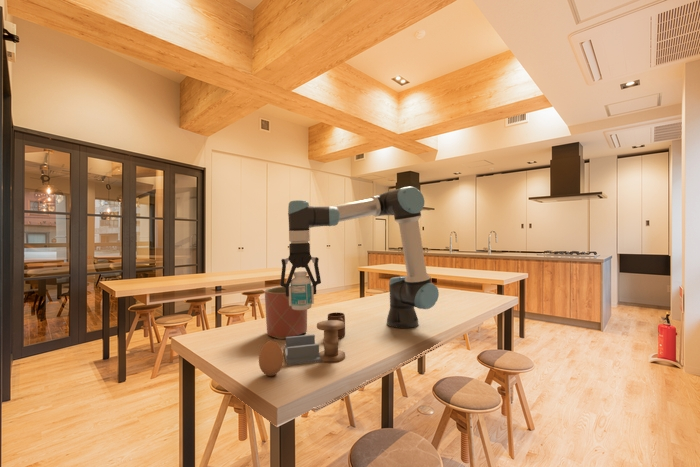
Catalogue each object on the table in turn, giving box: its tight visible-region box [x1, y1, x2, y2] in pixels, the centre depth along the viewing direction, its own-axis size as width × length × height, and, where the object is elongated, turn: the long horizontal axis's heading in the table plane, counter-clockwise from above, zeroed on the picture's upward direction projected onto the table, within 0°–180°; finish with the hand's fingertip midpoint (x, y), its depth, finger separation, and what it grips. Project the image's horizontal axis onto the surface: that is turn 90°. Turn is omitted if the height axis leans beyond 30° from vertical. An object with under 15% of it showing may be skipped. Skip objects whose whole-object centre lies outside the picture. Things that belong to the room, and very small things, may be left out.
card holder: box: [284, 333, 323, 367], centre depth 118 cm, size 12×18×5 cm, turn 14°
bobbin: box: [316, 319, 346, 364], centre depth 114 cm, size 10×10×12 cm
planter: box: [264, 285, 308, 341], centre depth 144 cm, size 19×19×20 cm
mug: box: [327, 312, 346, 339], centre depth 137 cm, size 12×8×9 cm, turn 23°
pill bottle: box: [290, 270, 313, 310], centre depth 118 cm, size 8×7×14 cm
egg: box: [258, 340, 284, 377], centre depth 101 cm, size 8×8×11 cm
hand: (301, 304), depth 118 cm, fingers closed on pill bottle, 7 cm apart
